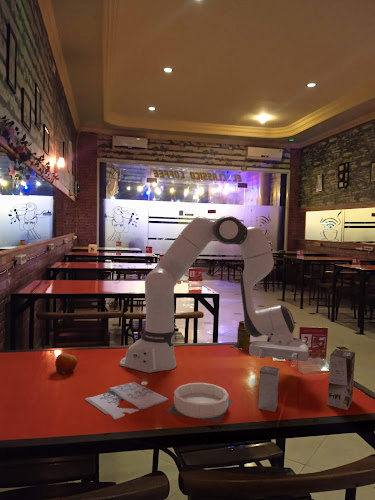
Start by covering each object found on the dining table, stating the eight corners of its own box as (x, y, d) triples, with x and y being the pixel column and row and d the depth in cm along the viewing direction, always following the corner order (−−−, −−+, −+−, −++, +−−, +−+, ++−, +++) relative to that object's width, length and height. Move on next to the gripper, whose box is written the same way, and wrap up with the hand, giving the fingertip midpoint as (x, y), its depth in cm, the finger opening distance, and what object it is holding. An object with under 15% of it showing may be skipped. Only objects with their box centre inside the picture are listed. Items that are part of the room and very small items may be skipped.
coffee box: (348, 410, 119) (351, 358, 119) (326, 405, 123) (329, 354, 122) (353, 400, 127) (356, 351, 126) (332, 395, 131) (335, 348, 130)
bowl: (166, 412, 113) (166, 398, 113) (185, 391, 128) (185, 379, 128) (219, 423, 108) (219, 408, 107) (232, 400, 123) (233, 387, 122)
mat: (166, 414, 113) (166, 412, 113) (185, 393, 128) (185, 391, 128) (219, 425, 108) (219, 423, 108) (232, 402, 123) (232, 400, 123)
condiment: (253, 348, 183) (254, 322, 182) (240, 350, 178) (241, 324, 177) (243, 344, 189) (244, 319, 188) (229, 346, 184) (230, 321, 184)
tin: (257, 410, 117) (259, 370, 117) (260, 403, 122) (262, 365, 122) (275, 413, 116) (277, 373, 115) (277, 406, 120) (279, 368, 120)
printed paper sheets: (169, 405, 121) (170, 398, 120) (112, 424, 107) (112, 416, 107) (135, 385, 135) (135, 379, 135) (81, 400, 121) (81, 394, 121)
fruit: (46, 371, 140) (54, 349, 144) (58, 376, 146) (66, 355, 150) (64, 374, 137) (72, 352, 141) (76, 379, 143) (83, 358, 147)
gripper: (252, 335, 146) (245, 344, 133) (309, 340, 139) (307, 351, 126) (252, 351, 146) (245, 362, 133) (309, 358, 139) (307, 370, 126)
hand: (276, 357), depth 130 cm, fingers open, 8 cm apart
